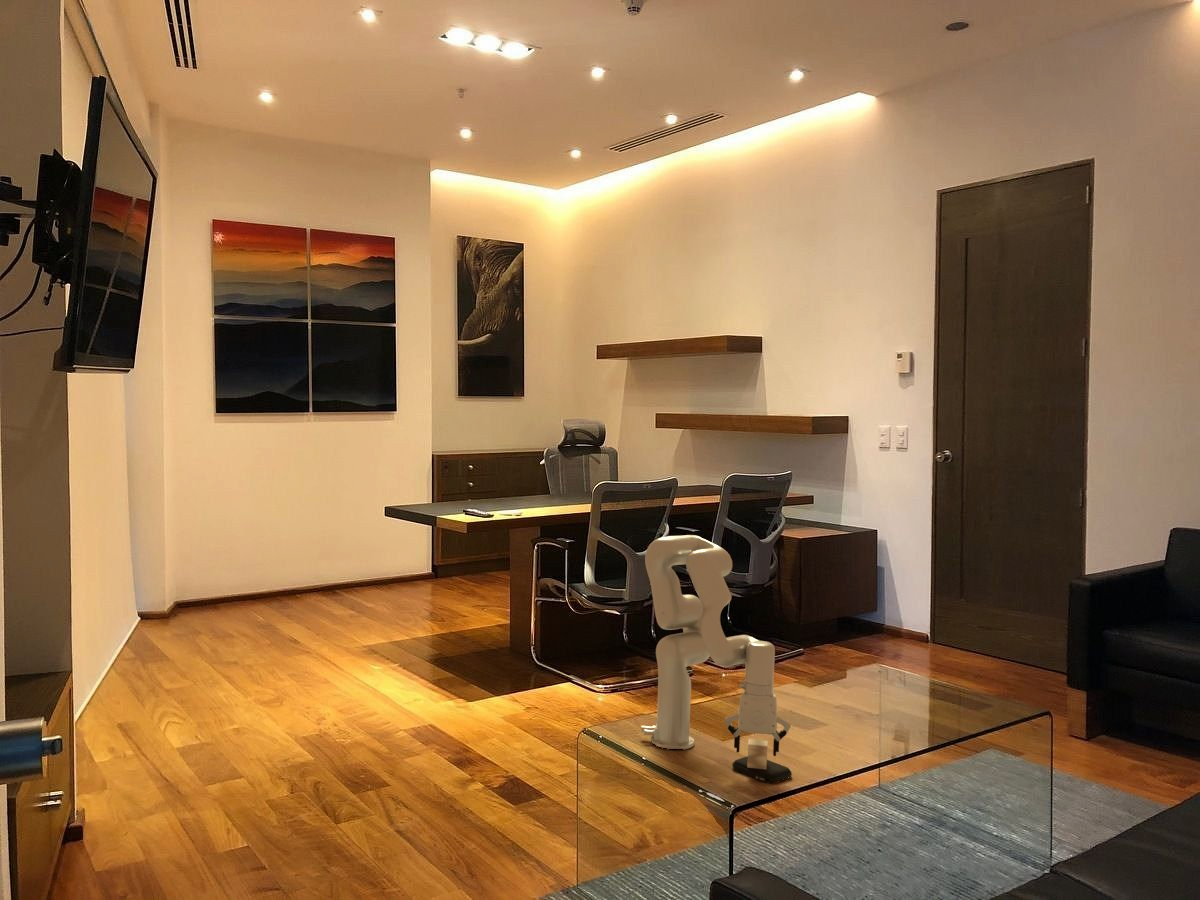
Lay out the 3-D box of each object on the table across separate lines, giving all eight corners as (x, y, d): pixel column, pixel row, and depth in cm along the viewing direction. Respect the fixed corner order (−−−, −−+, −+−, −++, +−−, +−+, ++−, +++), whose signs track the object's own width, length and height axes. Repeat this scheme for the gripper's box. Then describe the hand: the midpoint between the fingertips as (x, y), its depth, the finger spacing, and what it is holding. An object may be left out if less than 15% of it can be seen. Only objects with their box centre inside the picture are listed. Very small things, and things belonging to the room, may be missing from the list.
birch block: (747, 767, 249) (748, 744, 249) (747, 761, 254) (748, 738, 253) (766, 769, 248) (767, 746, 248) (766, 763, 253) (767, 740, 253)
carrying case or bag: (725, 771, 254) (769, 788, 243) (726, 760, 254) (769, 776, 243) (751, 762, 261) (794, 779, 250) (752, 752, 261) (795, 768, 250)
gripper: (725, 689, 248) (722, 754, 248) (792, 695, 245) (789, 760, 245) (726, 682, 255) (724, 744, 255) (791, 687, 252) (789, 751, 252)
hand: (756, 752), depth 250 cm, fingers open, 9 cm apart
